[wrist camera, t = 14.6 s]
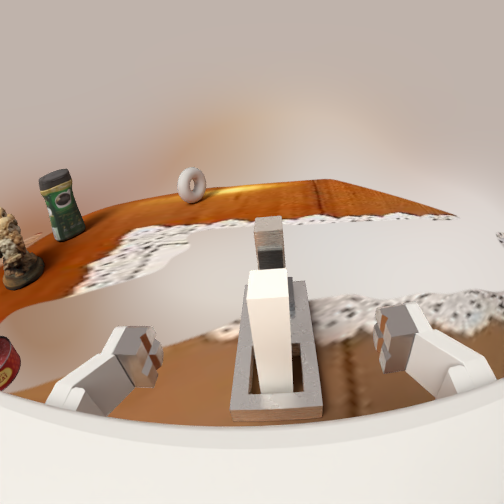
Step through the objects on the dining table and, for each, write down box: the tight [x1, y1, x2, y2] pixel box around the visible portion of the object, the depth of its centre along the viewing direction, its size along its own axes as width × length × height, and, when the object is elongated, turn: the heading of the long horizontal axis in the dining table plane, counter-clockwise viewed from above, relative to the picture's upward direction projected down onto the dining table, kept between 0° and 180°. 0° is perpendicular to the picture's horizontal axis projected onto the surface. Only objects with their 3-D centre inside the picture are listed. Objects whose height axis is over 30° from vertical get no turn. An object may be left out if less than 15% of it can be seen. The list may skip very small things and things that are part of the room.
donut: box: [177, 167, 206, 203], centre depth 84 cm, size 10×4×10 cm, turn 147°
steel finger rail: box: [230, 216, 323, 421], centre depth 31 cm, size 20×8×12 cm, turn 177°
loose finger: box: [246, 268, 293, 394], centre depth 27 cm, size 5×3×12 cm, turn 177°
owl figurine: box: [0, 207, 44, 290], centre depth 54 cm, size 18×12×17 cm, turn 47°
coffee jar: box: [39, 169, 85, 241], centre depth 73 cm, size 10×8×19 cm
